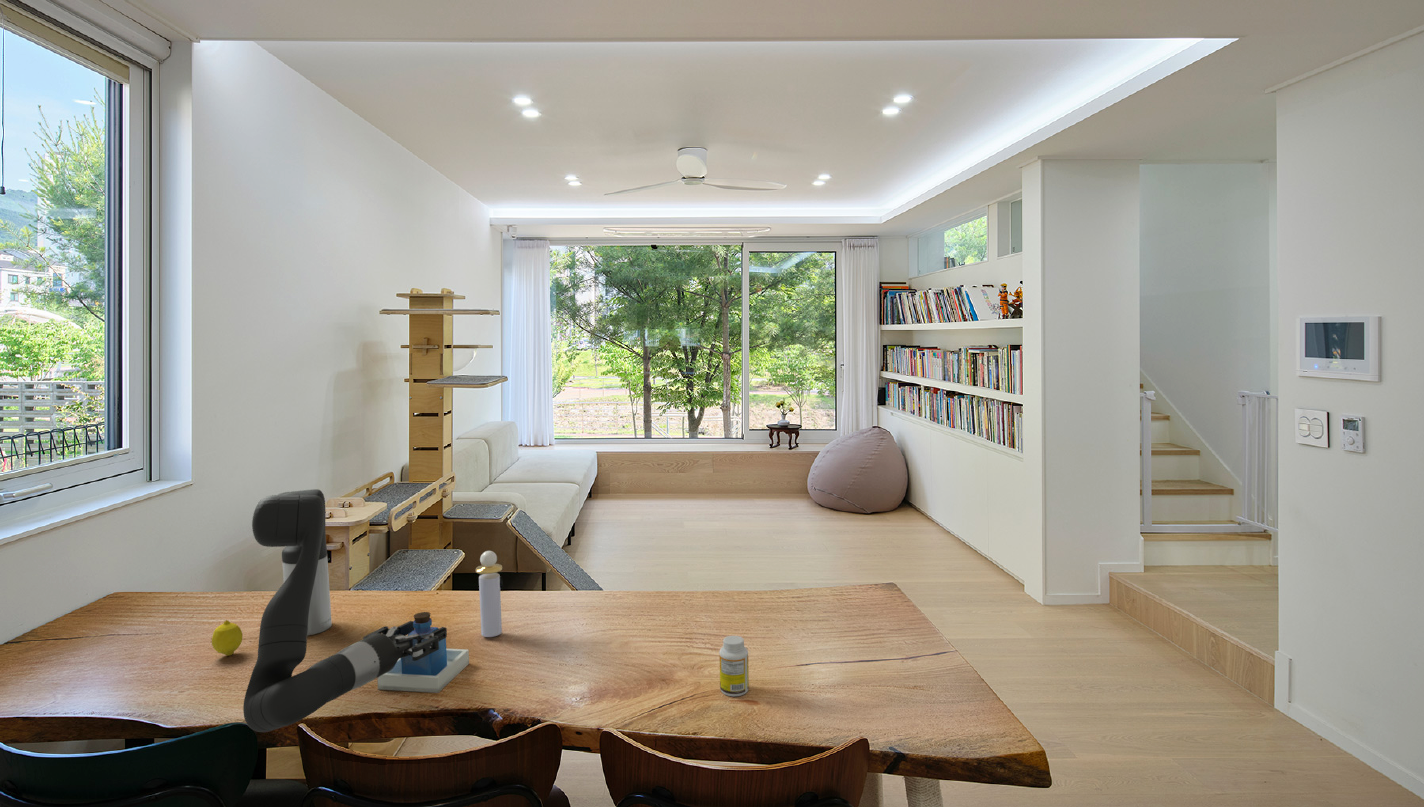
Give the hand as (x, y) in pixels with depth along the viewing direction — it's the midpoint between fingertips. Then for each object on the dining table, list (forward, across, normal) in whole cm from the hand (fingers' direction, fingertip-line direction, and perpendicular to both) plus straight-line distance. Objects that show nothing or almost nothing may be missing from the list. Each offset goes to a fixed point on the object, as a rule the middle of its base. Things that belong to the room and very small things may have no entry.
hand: (429, 628), depth 145 cm
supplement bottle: (+16, -61, +10) cm, 63 cm away
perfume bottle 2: (+19, 0, +10) cm, 21 cm away
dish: (-2, 0, +9) cm, 9 cm away
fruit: (-10, +48, +10) cm, 49 cm away
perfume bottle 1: (-2, 0, +9) cm, 9 cm away
